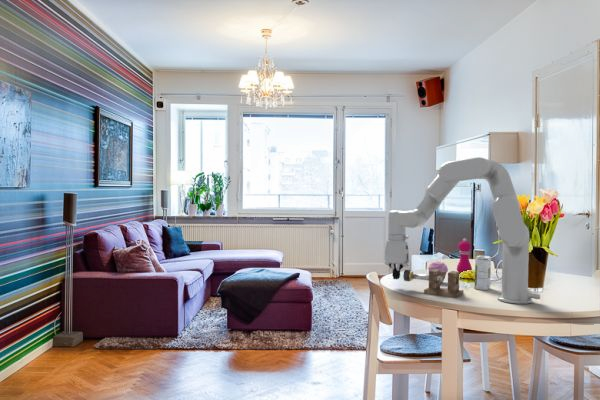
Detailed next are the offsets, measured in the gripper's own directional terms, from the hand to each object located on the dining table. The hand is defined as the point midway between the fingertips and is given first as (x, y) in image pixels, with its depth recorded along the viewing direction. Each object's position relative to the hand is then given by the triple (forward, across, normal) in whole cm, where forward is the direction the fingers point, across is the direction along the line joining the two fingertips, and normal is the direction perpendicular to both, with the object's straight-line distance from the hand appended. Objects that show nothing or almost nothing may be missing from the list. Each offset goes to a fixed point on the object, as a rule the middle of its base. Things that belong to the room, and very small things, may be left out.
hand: (396, 278), depth 212 cm
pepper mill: (+4, -18, -44) cm, 48 cm away
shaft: (0, -12, 0) cm, 12 cm away
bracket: (+4, -20, 0) cm, 21 cm away
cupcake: (+4, -11, -24) cm, 27 cm away
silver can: (+4, -32, -21) cm, 39 cm away
